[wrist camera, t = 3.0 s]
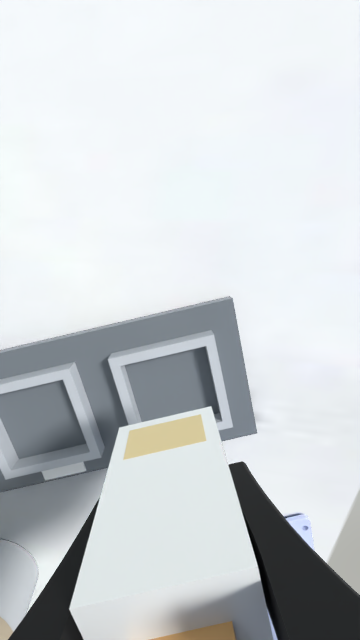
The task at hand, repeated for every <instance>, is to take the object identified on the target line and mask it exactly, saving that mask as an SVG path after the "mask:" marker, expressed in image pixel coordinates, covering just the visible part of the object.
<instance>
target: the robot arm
mask: <svg viewBox="0 0 360 640" xmlns="http://www.w3.org/2000/svg"><path fill="white" fill-rule="evenodd" d="M229 469H230V472H231V476H232V479H233V483H234V486H235V489H236V493H237V496H238V500H239V503H240V507H241V510H242V514H243V517H244V520H245V524H246V527H247V531H248V534H249V538H250V541H251V544H252V548H253V551H254V555H255V558H256V562H257V565H258V569H259V574H260V579H261V583H262V588H263V593H264V597H265V602H266V607H267V612H268V616H269V621H270V626H271V630H272V635H273V640H360V595H359V594H358V593H357V592H355V591H354V590H353V589H352V588H351V587H350V586H349V585H348V584H347V583H346V582H345V581H344V580H343V579H342V578H341V577H340V576H339V575H338V574H336V572H334V570H333V569H332V568H330V566H329V565H328V564H327V563H326V562H325V561H324V560H323V559H322V558H321V557H320V556H319V555H318V554H317V553H316V552H315V551H314V545H313V537H312V530H311V523H310V520H309V518H308V516H307V515H304V514H302V515H297V516H293V517H289V518H284V517H283V515H282V514H281V513H280V512H279V510H278V509H277V508H276V507H275V505H274V504H273V503H272V502H271V500H270V499H269V498H268V497H267V495H266V494H265V493H264V491H263V490H262V488H261V487H260V486H259V484H258V483H257V481H256V480H255V478H254V477H253V475H252V474H251V472H250V471H249V469H248V467H247V465H246V464H245V463H244V462H238V463H234V464H229ZM99 499H100V498H99ZM98 503H99V500H98V501H97V503H96V505H95V506H94V508H93V510H92V512H91V513H90V515H89V517H88V518H87V520H86V522H85V524H84V525H83V527H82V529H81V530H80V532H79V534H78V535H77V537H76V539H75V540H74V542H73V544H72V545H71V547H70V548H69V550H68V552H67V553H66V555H65V557H64V558H63V560H62V562H61V563H60V565H59V566H58V568H57V569H56V571H55V572H54V574H53V575H52V577H51V578H50V580H49V582H48V583H47V585H46V586H45V588H44V589H43V591H42V592H41V594H40V595H39V597H38V598H37V600H36V601H35V602H34V604H33V605H32V607H31V608H30V610H29V611H28V613H27V614H26V615H25V617H24V618H23V620H22V621H21V622H20V624H19V625H18V626H17V628H16V629H15V631H14V632H13V633H12V635H11V636H10V637H9V639H8V640H84V639H83V637H82V635H81V633H80V631H79V629H78V627H77V625H76V623H75V620H74V618H73V616H72V614H71V612H70V610H69V608H70V604H71V601H72V597H73V594H74V590H75V586H76V583H77V579H78V575H79V572H80V568H81V565H82V561H83V557H84V554H85V550H86V546H87V543H88V539H89V536H90V532H91V528H92V525H93V521H94V517H95V514H96V510H97V507H98Z"/></svg>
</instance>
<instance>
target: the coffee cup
mask: <svg viewBox="0 0 360 640" xmlns="http://www.w3.org/2000/svg"><path fill="white" fill-rule="evenodd" d="M37 579H38V566H37V563H36V561H35V559H34V558H33V556H32V555H31V554H30V553H29V552H28V551H27V550H26V549H24V548H23V547H21V546H19V545H18V544H15V543H13V542H10V541H7V540H2V539H0V640H8V639H9V637H10V636H11V635H12V633H13V632H14V631H15V629H16V628H17V626H18V625H19V624H20V622H21V621H22V620H23V618H24V617H25V615H26V613H27V610H28V607H29V604H30V601H31V598H32V595H33V592H34V589H35V586H36V582H37Z"/></svg>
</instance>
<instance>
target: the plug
mask: <svg viewBox="0 0 360 640" xmlns="http://www.w3.org/2000/svg"><path fill="white" fill-rule="evenodd" d="M69 610H70V612H71V614H72V616H73V618H74V620H75V623H76V625H77V627H78V629H79V631H80V633H81V635H82V637H83V639H84V640H273V635H272V630H271V626H270V621H269V616H268V612H267V607H266V602H265V597H264V593H263V588H262V583H261V579H260V574H259V569H258V565H257V562H256V558H255V555H254V551H253V548H252V544H251V541H250V538H249V534H248V531H247V527H246V524H245V520H244V517H243V514H242V510H241V507H240V503H239V500H238V496H237V493H236V489H235V486H234V483H233V479H232V476H231V472H230V469H229V465H228V462H227V459H226V455H225V452H224V448H223V445H222V441H221V438H220V434H219V431H218V428H217V424H216V421H215V417H214V414H213V410H212V407H211V406H210V407H206V408H201V409H197V410H193V411H188V412H184V413H180V414H176V415H171V416H167V417H163V418H158V419H154V420H150V421H145V422H141V423H137V424H132V425H128V426H124V427H119V431H118V434H117V438H116V441H115V445H114V449H113V452H112V456H111V460H110V463H109V467H108V470H107V474H106V478H105V481H104V485H103V489H102V492H101V496H100V499H99V503H98V507H97V510H96V514H95V517H94V521H93V525H92V528H91V532H90V536H89V539H88V543H87V546H86V550H85V554H84V557H83V561H82V565H81V568H80V572H79V575H78V579H77V583H76V586H75V590H74V594H73V597H72V601H71V604H70V608H69Z"/></svg>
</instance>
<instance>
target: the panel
mask: <svg viewBox="0 0 360 640" xmlns="http://www.w3.org/2000/svg"><path fill="white" fill-rule="evenodd" d="M210 406H211V407H212V410H213V414H214V417H215V421H216V424H217V428H218V431H219V434H220V438H221V441H225V440H230V439H234V438H238V437H243V436H247V435H251V434H256V433H257V430H256V424H255V419H254V413H253V408H252V402H251V397H250V391H249V386H248V380H247V375H246V369H245V364H244V358H243V353H242V347H241V342H240V336H239V331H238V325H237V320H236V314H235V309H234V303H233V298H231V297H230V296H229V297H225V298H221V299H216V300H212V301H208V302H204V303H199V304H195V305H191V306H187V307H182V308H178V309H174V310H170V311H165V312H161V313H157V314H152V315H148V316H144V317H140V318H135V319H131V320H127V321H123V322H118V323H114V324H110V325H106V326H101V327H97V328H93V329H89V330H84V331H80V332H76V333H72V334H67V335H63V336H59V337H55V338H50V339H46V340H42V341H38V342H33V343H29V344H25V345H21V346H16V347H12V348H8V349H4V350H0V492H4V491H8V490H12V489H17V488H21V487H26V486H30V485H34V484H39V483H43V482H47V481H52V480H56V479H60V478H65V477H69V476H73V475H78V474H82V473H86V472H91V471H95V470H99V469H104V468H108V467H109V463H110V460H111V456H112V452H113V449H114V445H115V441H116V438H117V434H118V431H119V427H124V426H128V425H132V424H137V423H141V422H145V421H150V420H154V419H158V418H163V417H167V416H171V415H176V414H180V413H184V412H188V411H193V410H197V409H201V408H206V407H210Z"/></svg>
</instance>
